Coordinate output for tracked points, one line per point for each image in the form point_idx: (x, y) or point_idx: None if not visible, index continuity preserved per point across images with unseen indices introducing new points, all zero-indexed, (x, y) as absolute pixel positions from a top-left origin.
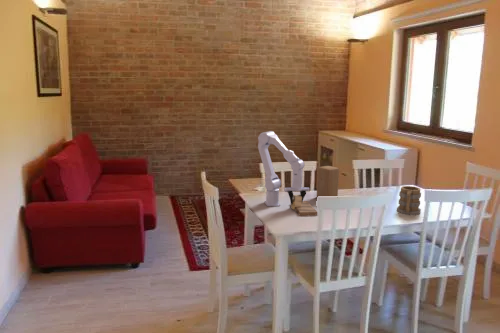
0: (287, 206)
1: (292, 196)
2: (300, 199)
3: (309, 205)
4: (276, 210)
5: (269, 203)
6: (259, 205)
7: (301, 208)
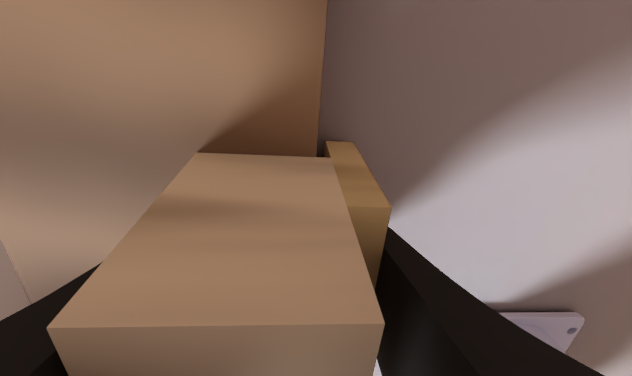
0: None
1: (491, 358)
2: (169, 244)
3: (24, 214)
4: (578, 167)
5: (562, 350)
6: (621, 340)
7: (218, 33)
